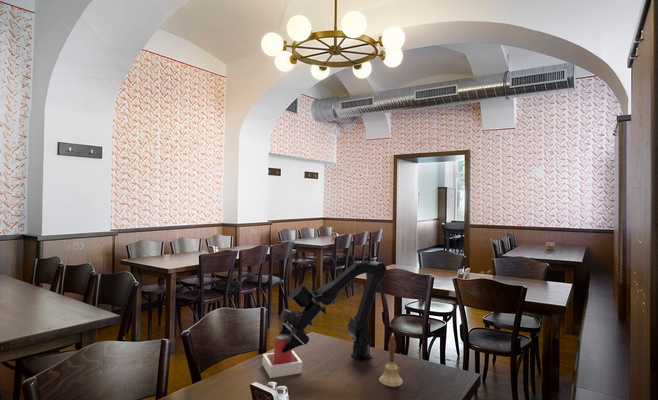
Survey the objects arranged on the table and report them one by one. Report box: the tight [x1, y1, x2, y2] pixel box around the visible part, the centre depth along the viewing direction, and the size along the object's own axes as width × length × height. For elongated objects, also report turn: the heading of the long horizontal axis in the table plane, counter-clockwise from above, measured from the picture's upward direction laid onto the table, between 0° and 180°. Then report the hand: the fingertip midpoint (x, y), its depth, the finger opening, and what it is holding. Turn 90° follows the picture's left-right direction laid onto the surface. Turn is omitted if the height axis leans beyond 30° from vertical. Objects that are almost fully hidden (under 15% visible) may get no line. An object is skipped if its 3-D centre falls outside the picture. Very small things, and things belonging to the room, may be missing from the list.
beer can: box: [273, 334, 293, 365], centre depth 144 cm, size 7×7×12 cm
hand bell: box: [378, 335, 404, 388], centre depth 135 cm, size 8×8×16 cm
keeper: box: [262, 349, 303, 379], centre depth 143 cm, size 12×12×4 cm
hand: (279, 347), depth 143 cm, fingers open, 9 cm apart
